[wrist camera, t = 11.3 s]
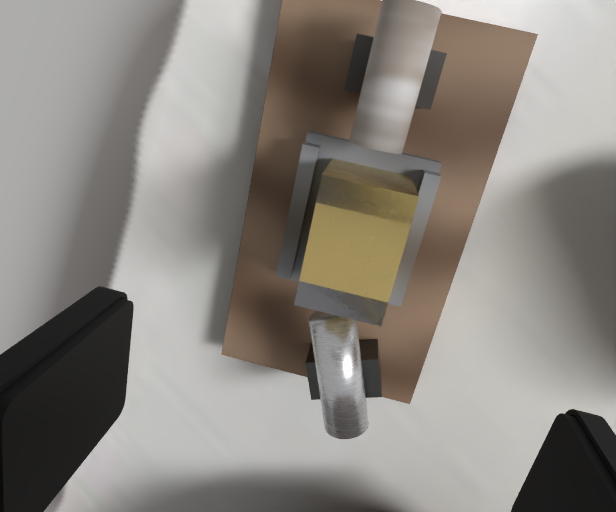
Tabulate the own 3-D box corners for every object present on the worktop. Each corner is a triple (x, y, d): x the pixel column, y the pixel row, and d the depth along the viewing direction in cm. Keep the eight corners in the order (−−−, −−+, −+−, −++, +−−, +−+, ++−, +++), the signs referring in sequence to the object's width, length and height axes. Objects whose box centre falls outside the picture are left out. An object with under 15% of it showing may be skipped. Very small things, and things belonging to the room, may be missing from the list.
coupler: (332, 158, 24) (322, 174, 19) (410, 176, 24) (419, 196, 19) (308, 266, 26) (293, 305, 21) (380, 284, 26) (381, 326, 21)
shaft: (303, 292, 28) (289, 329, 23) (372, 286, 27) (371, 324, 23) (317, 388, 30) (307, 439, 25) (382, 385, 29) (383, 438, 25)
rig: (290, -14, 24) (263, -48, 18) (528, 37, 23) (578, 19, 17) (228, 342, 31) (194, 399, 25) (408, 389, 31) (415, 459, 25)
